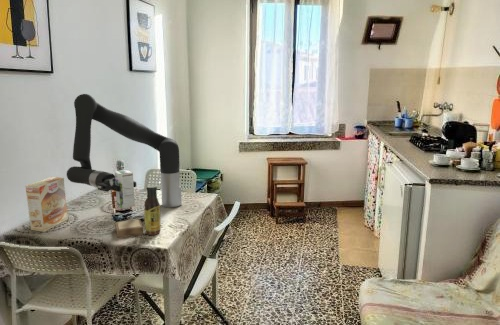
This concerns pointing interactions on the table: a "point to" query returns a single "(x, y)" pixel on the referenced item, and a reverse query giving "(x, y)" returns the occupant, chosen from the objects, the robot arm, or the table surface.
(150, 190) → the sauce bottle
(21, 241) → the table surface
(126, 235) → the pedestal
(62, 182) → the coffeecake box
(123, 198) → the syrup box
